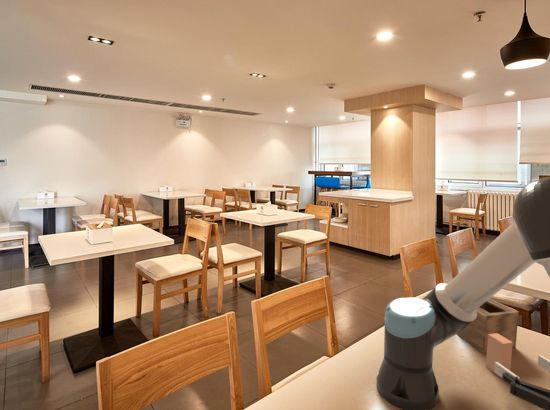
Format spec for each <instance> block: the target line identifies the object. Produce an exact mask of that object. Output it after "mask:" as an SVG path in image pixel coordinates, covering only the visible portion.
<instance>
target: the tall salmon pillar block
mask: <svg viewBox="0 0 550 410" xmlns="http://www.w3.org/2000/svg"><path fill="white" fill-rule="evenodd" d="M512 347H513V342H511V341H510V340H508V339H506V338H505V337H503V336H501V335H500V334H498V333H494V334H488V345H487V352H486V359H485V360H486V361H485V368H487V369H488V370H489V371H491V372H492V373H493V374H495V375H496V376H497V377H499V378H500V379H502V377H500V376H499V375H498V374H496V373H495V372H494V364H495V362H498V363H500V364H501V365H502V366H504V367H505V368H507V369H508V370H509V371H511V369H512V357H513V348H512ZM511 372H512V371H511Z"/></svg>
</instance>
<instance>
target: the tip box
mask: <svg viewBox="0 0 550 410" xmlns="http://www.w3.org/2000/svg"><path fill="white" fill-rule="evenodd" d="M476 310H477V317H476V318H475V320H473V321H472V322H471V323H470V324H469V325H468V326H467V327H466V329H465V330H464V331H463V332H461V333H459V334H456V335H457V336H458V337H459V338H461V339H462V340H463V341H465V342H466V343H468V344H469V345H471V346H472V347H474V348H475V349H476V350H478V351H479V352H481V353H487V345H488V334H494V333H498V334H500V335H501V336H503V337H505V338H506V339H508V340H510V341H511V342H513V347H512V349H517V347H516V346H517V335H518V334H517V333H518V322H519V311H517V310H515V309H513V308H512V307H509V306H507V305H505V304H503V303H501V302H500V301H497V300H495V299H492V297H491V298H490V299H489V300H487V301H486V302H485V303H484V304H482V305H481V306H480V307H479V308H477V309H476Z"/></svg>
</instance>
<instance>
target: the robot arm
mask: <svg viewBox="0 0 550 410" xmlns="http://www.w3.org/2000/svg"><path fill="white" fill-rule="evenodd" d="M510 215H511V221H512V223H511V224H510V225H509V226H508V227H507V228H506V229H504V230H503V232H501V233H500V234H499V235H498V236H497V237H496V238H495V239H494V240H493V241H491V242H490V244H488V245H487V246H486V247H485V248H484V249H483V250H482V251H481V252H480V253H479V254H478V255H477V256H476V257H475V258H474V259H473V260H472V261H470V262H469V263H468V264H467V265H466V266H465V267H464V268H463V269H462V270H460V271H459V273H457V274H456V275H455V276H454V277H453V278H452V279H451V280H450V281H448V282H440V283H438V284H437V285H436V286H434V288H433V289H432V290H430V291H429V293H427V294H426V296H424V297H422V298H419V297H413V296H408V297H403V296H402V297H398V298H395V299H392V300H391V301H390V302H389V303H388V304H387V305H386V307H385V313H384V318H383V323H384V341H383V343H384V344H383V345H384V347H383V349H384V350H383V360H382V361H381V364H380V367H379V369H378V371H377V373H376V374H377V375H376V383H375V384H376V389H377V391H378V394H380V396H381V397H382V398H383V399H384V400H386V401H387V402H388V403H390V404H392V405H393V406H396V407H398V408H400V409H404V410H431V409H432V408H434V407H435V406H436V405H438V403H439V396H440V387H439V385H438V381H437V377H436V375H435V371H434V369H433V361H434V356H433V355H434V349H435V348H436V347H437V346H439V345H440V344H442V343H444V342H446V341H448V340H449V339H450V338H452V337H455V336H456V335H457V334H459V333H461V332H463V331H464V330H465V329H466V327H467V326H468V325H469V324H470V323H471V322H472V321H473V320H475V318H476V317H477V310H476V309H477V308H479V307H480V306H481V305H482V304H484V303H485V302H486V301H487V300H489V299H490V298H491V299H492V297H494V296H495V295H497V294H498V293H499V292H500V291H501V290H503V289H504V288H505V287H506V286H508V285H509V284H510V283H511V282H513V281H514V280H515V279H516V278H517V277H519V276H520V275H522V274H523V273H524V272H525V271H526V270H527V269H529V268H530V267H531V266H533V264H535V263H537V264H539V265H541V266H542V267H543V268H544V270H545V272H546V274H547V276H548V277H549V279H550V176H547V177H542V178H538V179H535V180H534V181H531V182H530V183H528V184H526V185H525V186H524V187H523V188H522V189H521V190H520V191H519V193H518V194H517V195H516V197H515V200H514V202H513V212H512V213H511V214H510ZM537 356H538V357H537V365H538V366H539V367H541V368H542V369H544V370H545V371H547V372H548V373H550V359H549V358H547V357H545V356H543V355H542V354H538V355H537ZM494 372H495V373H496V374H498V375H499V376H500V377H502V378H501V379H502V380H503V381H505V382H506V384H508V385H509V387H510V388H509V394H511V395H513V396H515V397H517V398H519V399H521V400H523V401H525V402H527V403H529V404H530V405H531V404H532V405H533V406H536V407H539V408H541V409H542V410H550V389H549V388H545V387H542V386H538V385H535V384H534V383H533V384H532V383H530V382H526V381H524V380H521V379H520V378H521V377H519V376H518V375H516V374H515V373H514V372H512V371H509V370H508V369H507V368H505V367H504V366H502V365H501V364H500V363H498V362H495V364H494ZM494 372H493V373H494ZM495 373H494V374H495ZM496 374H495V375H496ZM498 375H497V376H498ZM499 376H498V377H499ZM500 377H499V378H500Z"/></svg>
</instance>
